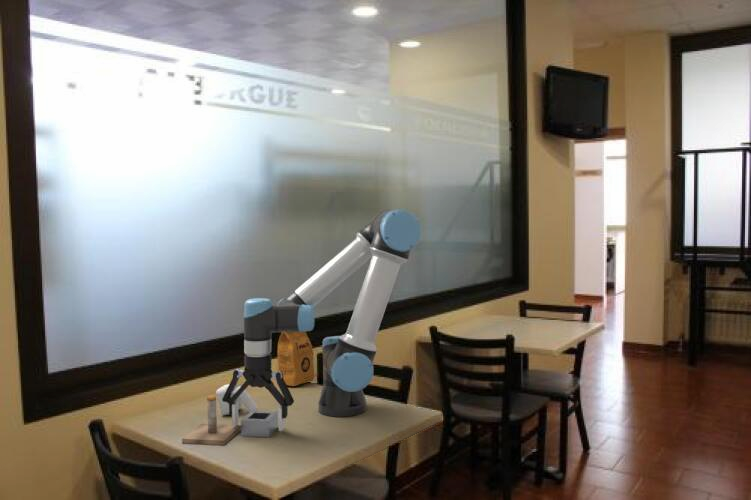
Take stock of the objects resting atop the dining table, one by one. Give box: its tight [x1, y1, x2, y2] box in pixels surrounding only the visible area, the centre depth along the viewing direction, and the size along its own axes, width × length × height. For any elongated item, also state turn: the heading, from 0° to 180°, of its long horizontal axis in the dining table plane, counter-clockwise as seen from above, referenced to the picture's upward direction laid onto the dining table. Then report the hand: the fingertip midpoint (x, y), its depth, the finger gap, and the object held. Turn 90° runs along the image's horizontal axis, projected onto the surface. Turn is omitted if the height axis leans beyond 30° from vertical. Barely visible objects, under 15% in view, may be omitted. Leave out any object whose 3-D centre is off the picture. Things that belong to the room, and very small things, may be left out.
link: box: [240, 410, 279, 438], centre depth 175 cm, size 8×8×4 cm
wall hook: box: [215, 383, 259, 416], centre depth 192 cm, size 8×10×10 cm
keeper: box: [181, 394, 241, 446], centre depth 172 cm, size 12×12×11 cm
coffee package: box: [276, 331, 315, 387], centre depth 224 cm, size 10×12×22 cm
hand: (258, 427), depth 175 cm, fingers open, 13 cm apart
